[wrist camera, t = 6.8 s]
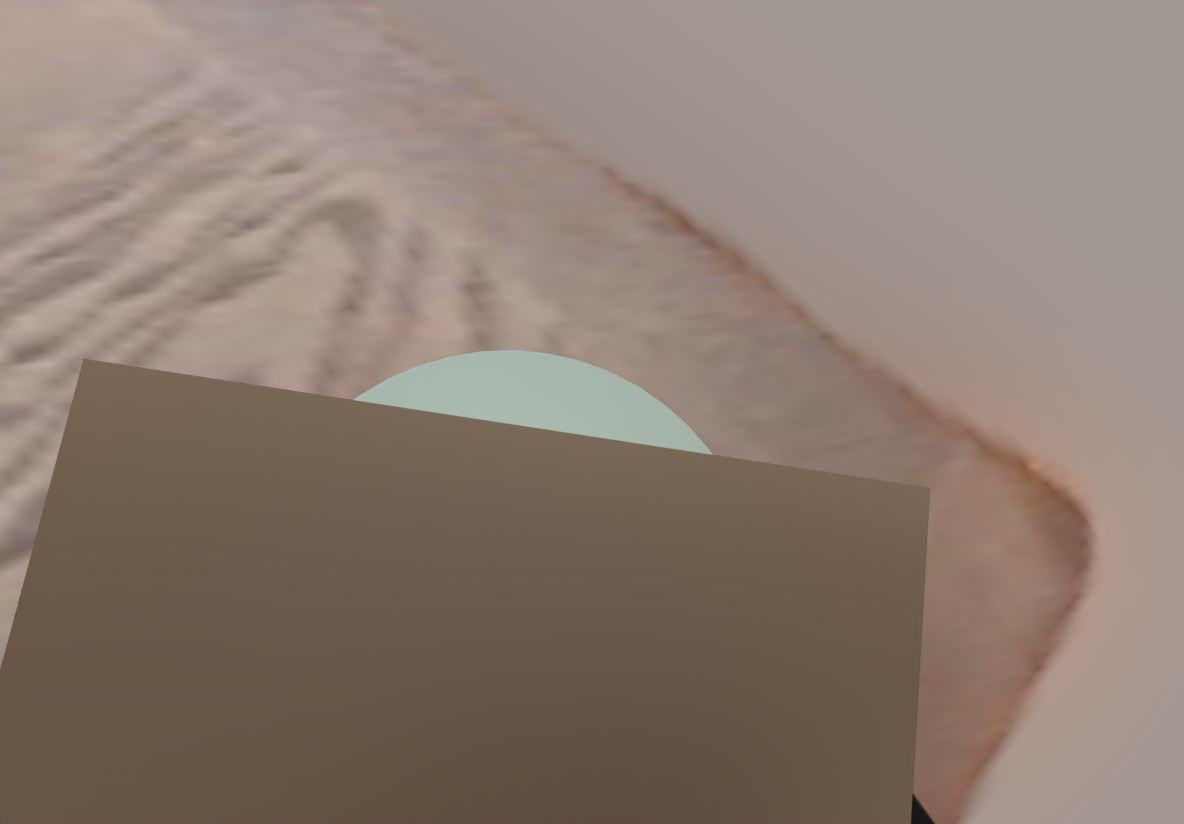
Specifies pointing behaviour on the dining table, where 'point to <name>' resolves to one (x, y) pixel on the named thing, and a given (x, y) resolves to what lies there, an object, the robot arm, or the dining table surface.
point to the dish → (538, 397)
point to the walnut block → (449, 623)
